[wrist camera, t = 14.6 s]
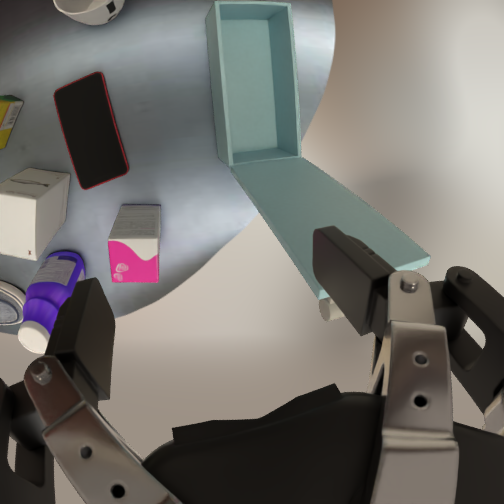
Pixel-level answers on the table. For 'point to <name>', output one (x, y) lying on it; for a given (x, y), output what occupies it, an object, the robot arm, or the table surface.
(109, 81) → the table surface
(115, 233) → the supplement box
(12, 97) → the crayon box
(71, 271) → the bottle
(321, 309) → the cool box lid
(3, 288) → the navy blue sneaker
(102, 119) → the smartphone
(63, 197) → the white packaging box
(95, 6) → the cup
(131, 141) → the table surface
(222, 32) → the cool box
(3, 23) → the table surface
